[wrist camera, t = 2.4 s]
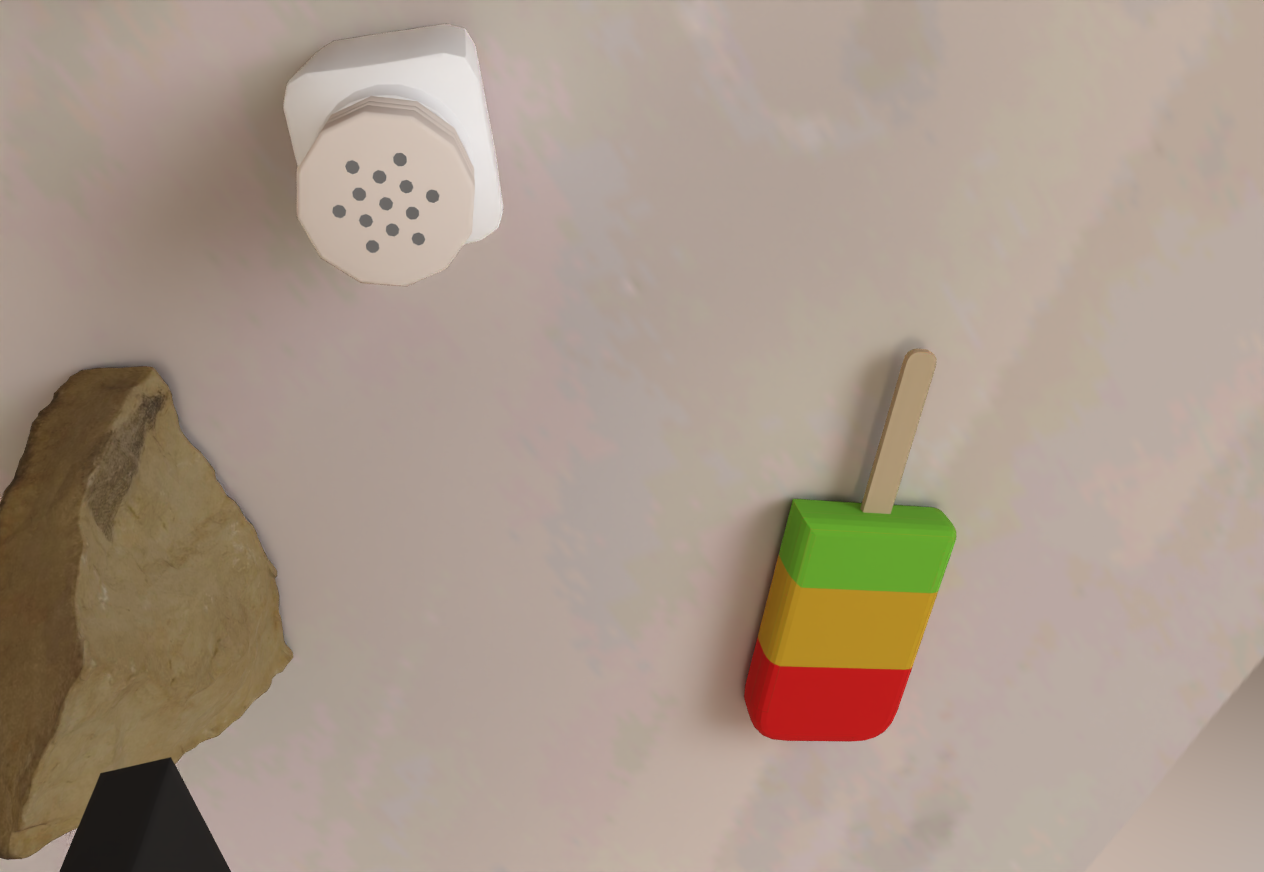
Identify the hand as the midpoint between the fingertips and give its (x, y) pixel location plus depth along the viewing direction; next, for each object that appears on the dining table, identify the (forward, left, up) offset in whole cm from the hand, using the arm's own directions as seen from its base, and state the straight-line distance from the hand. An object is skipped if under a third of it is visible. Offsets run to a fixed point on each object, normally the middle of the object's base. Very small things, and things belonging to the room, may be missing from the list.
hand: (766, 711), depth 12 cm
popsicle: (+8, -12, -20) cm, 24 cm away
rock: (-13, -7, -20) cm, 25 cm away
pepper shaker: (-4, +4, -20) cm, 20 cm away
